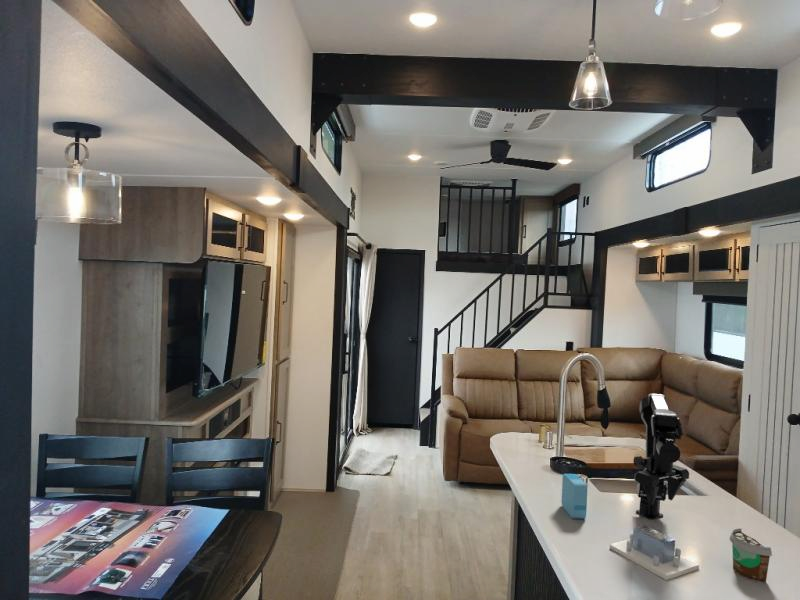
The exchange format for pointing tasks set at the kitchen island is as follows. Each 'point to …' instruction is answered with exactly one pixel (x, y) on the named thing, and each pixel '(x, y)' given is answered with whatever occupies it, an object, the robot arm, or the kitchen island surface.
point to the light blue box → (574, 496)
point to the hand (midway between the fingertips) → (660, 502)
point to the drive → (653, 543)
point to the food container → (749, 556)
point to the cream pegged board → (655, 560)
